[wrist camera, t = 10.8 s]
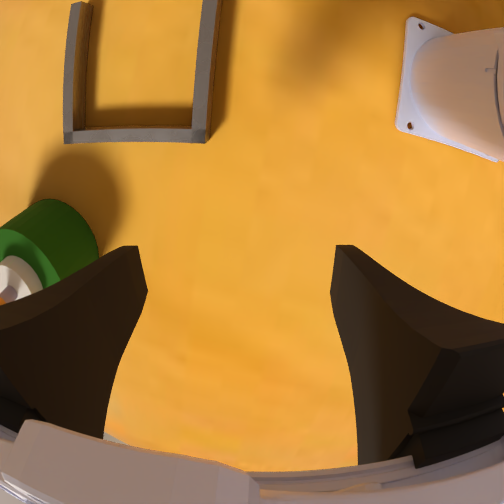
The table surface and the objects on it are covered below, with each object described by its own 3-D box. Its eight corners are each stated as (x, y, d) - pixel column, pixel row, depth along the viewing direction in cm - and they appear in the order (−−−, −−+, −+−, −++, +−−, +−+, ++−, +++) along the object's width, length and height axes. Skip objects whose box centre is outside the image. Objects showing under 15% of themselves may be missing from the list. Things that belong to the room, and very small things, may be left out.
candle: (21, 190, 20) (-63, 248, 11) (100, 210, 20) (17, 289, 12) (29, 271, 24) (-31, 340, 15) (99, 297, 24) (47, 384, 16)
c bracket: (223, -9, 13) (219, -17, 12) (209, 139, 18) (204, 143, 16) (83, 7, 13) (71, 4, 12) (76, 139, 18) (64, 144, 16)
